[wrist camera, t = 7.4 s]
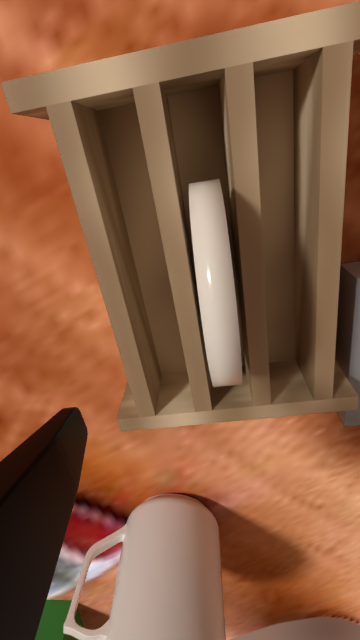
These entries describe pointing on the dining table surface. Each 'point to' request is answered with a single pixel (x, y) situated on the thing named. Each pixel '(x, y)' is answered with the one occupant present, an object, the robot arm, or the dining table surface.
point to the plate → (215, 282)
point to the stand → (349, 334)
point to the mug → (161, 575)
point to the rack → (239, 200)
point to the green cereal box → (55, 621)
